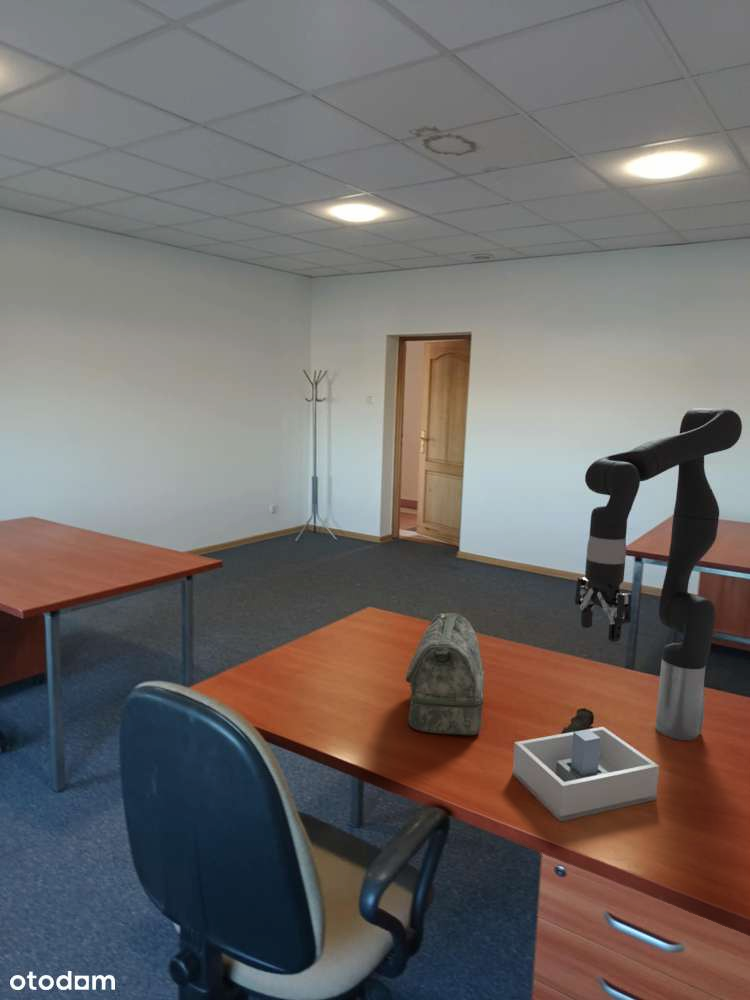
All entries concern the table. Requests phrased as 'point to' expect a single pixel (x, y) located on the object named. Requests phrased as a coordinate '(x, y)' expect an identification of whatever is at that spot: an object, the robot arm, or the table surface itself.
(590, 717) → the hand tool
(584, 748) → the plug
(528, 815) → the table surface
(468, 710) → the lunch bag
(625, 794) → the walled box
